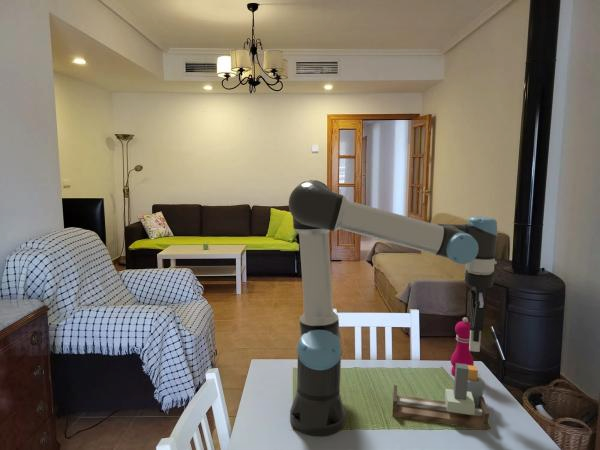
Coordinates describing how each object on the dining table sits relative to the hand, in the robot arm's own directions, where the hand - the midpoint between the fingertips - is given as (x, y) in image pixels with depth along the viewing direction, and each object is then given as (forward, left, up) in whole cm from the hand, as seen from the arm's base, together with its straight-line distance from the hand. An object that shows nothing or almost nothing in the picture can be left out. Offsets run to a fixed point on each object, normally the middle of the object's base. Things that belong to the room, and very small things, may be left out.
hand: (474, 350), depth 129 cm
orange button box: (0, 0, -16) cm, 16 cm away
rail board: (-10, -9, -16) cm, 21 cm away
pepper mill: (0, +18, -17) cm, 24 cm away
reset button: (0, 0, -11) cm, 11 cm away
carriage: (-4, -9, -13) cm, 16 cm away
